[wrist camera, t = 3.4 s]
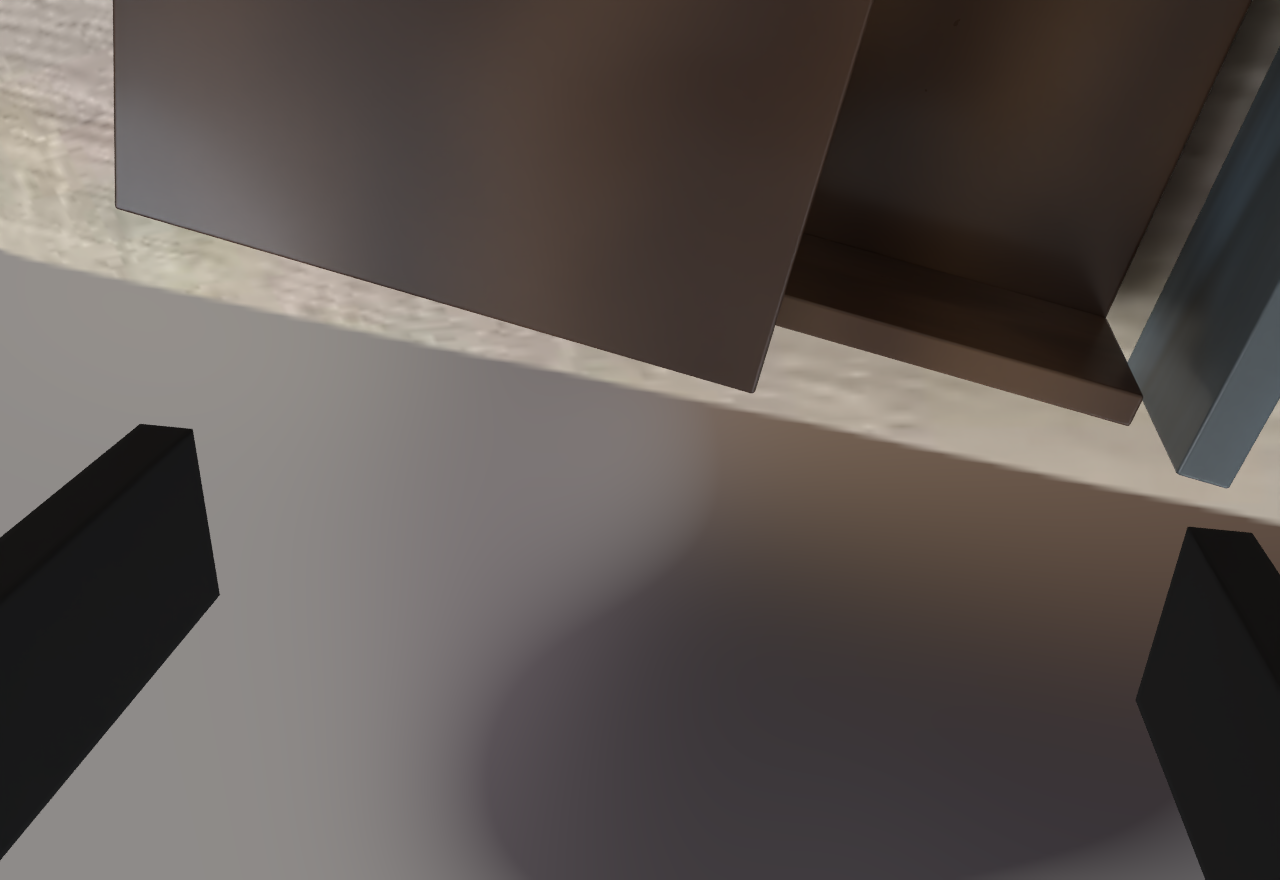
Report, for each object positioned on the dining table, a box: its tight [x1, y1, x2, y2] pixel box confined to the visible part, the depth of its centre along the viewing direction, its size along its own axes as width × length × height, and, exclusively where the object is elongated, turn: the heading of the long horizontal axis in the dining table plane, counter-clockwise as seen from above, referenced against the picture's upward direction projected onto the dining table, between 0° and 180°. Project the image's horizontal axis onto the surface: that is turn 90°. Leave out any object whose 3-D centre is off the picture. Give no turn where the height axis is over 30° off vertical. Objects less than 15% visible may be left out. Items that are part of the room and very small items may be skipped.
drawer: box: [775, 0, 1280, 488], centre depth 25 cm, size 19×13×6 cm
